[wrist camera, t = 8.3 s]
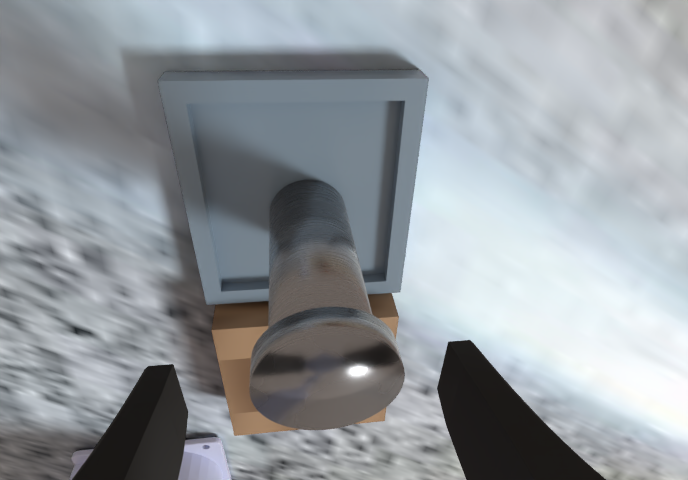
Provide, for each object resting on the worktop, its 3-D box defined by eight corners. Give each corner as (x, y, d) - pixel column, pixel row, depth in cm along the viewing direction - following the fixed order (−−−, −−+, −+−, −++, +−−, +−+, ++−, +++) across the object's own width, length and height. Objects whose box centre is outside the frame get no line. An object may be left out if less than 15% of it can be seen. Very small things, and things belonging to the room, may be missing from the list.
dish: (209, 288, 22) (206, 305, 21) (164, 71, 16) (157, 81, 15) (395, 277, 23) (400, 292, 22) (420, 69, 17) (428, 78, 16)
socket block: (237, 400, 28) (234, 435, 26) (217, 295, 23) (211, 330, 21) (377, 387, 29) (384, 420, 27) (388, 284, 24) (398, 316, 22)
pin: (261, 254, 21) (256, 436, 13) (253, 170, 18) (241, 341, 11) (354, 249, 21) (395, 422, 14) (359, 167, 19) (414, 329, 11)
